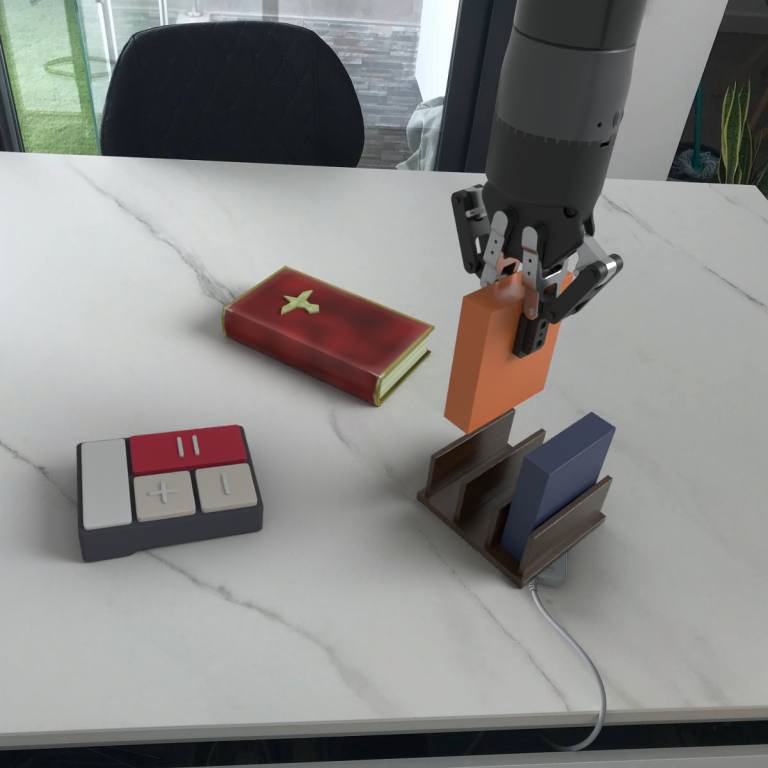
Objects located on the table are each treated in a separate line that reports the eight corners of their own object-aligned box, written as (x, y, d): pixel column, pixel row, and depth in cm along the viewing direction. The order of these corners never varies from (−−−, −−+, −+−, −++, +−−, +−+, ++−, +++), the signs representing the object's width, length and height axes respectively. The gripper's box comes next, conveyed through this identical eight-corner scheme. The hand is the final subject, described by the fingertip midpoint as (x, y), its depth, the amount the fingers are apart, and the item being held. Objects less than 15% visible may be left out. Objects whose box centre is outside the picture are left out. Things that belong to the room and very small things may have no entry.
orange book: (543, 389, 63) (574, 273, 56) (467, 435, 58) (490, 313, 51) (519, 373, 65) (546, 258, 58) (443, 416, 60) (462, 296, 53)
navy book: (584, 514, 72) (616, 427, 65) (521, 563, 67) (549, 475, 60) (562, 498, 73) (591, 411, 66) (499, 544, 68) (523, 456, 61)
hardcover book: (376, 409, 82) (379, 378, 79) (222, 337, 90) (220, 307, 87) (430, 353, 90) (435, 324, 88) (285, 292, 98) (285, 263, 95)
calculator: (264, 502, 66) (76, 529, 61) (263, 535, 69) (82, 564, 64) (243, 418, 74) (74, 436, 69) (242, 450, 77) (80, 470, 72)
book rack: (604, 521, 72) (621, 479, 69) (521, 589, 66) (535, 545, 62) (500, 444, 79) (511, 401, 76) (416, 498, 73) (423, 454, 69)
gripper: (433, 87, 49) (408, 315, 60) (615, 166, 41) (548, 412, 52) (512, 68, 53) (475, 285, 64) (692, 137, 45) (614, 371, 56)
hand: (508, 341), depth 58 cm, fingers closed on orange book, 2 cm apart
